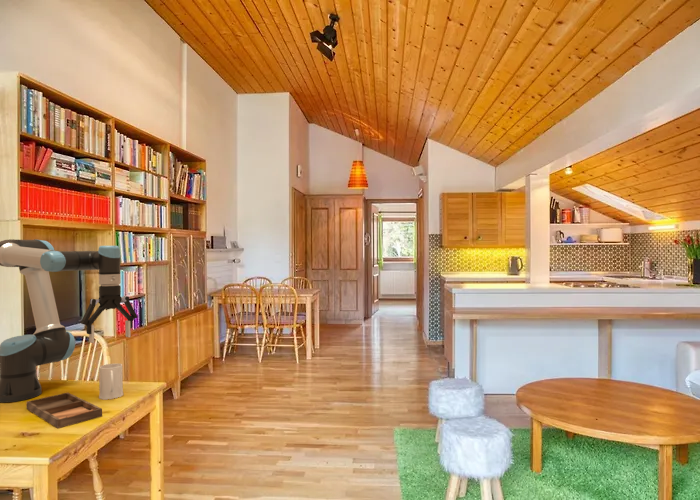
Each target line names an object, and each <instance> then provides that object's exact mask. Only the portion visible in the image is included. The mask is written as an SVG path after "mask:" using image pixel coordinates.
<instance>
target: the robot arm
mask: <svg viewBox="0 0 700 500" xmlns="http://www.w3.org/2000/svg"><path fill="white" fill-rule="evenodd" d="M121 257H122V255H121V248H120V246H119V245H100V246H98V250H71V251H69V250H55V248H54V246H53V245H52V244H51V243H50V242H49V241H47V240H41V239H13V238H12V239H11V238H10V239H4V240H0V267H5V268H18V269H19V273H20V274H21V275H23V276H24V277H25V278H24V279H25V281H26V286H27V291H28V295H29V300H30V305H31V310H32V316H33V319H34V324H35V328H36V329H35V331H34V333H33V334H22V335H17V336H12V337H10V338H7V339H5V340H3V341H1V343H0V403H12V402H21V401H26V400H30V399H33V398H36V397H38V396H40V395H42V385H41V383H40V380H39V378H38V376H37V367H38V366H42V365H48V364H53V363H59V362H61V361H64V360H68V359H69V358H70V357H71V356H72V355H73V353H74V350H75V348H76V338H75V336H74V334H73V333H72V332H71V331H67V328H66V326H64V325H62V324H61V320H60V318H59V317H60V316H59V312H58V308H57V304H56V298H55V294H54V289H53V285H52V281H51V277H50V272H51V273H56V272H66V271H67V272H71V271H72V272H73V271H98V285H99V287H98V298H97V299H96V298H95V299H94V298H90V300H89V305H88V307H87V309H86V310H85V313H84V315H83V316H82V319H81V321H80V324H81V325H85V326H86V328H85V329H86V334H87V335H88V342H89V344H90V343H91V344H95V325H94V323H95V321H96V320H97V319H98V317H99V316H101V314H102V313H103V312H104V311H105V310H111V309H113V310H115V309H117V311H118V312H119V313H120V314H122V316H124V317H125V319H126V320H125V322H124V323H125V324H124V325H125V329H124V331H125V337H126V338H131V335H132V334H131V329H133V321H134V320H135V319H138V315H137V313H136V311H135V309H134V308H133V305H132V304H131V302H130V297H129V296H127V295H123V296H121V294H122V293H121V292H122V291H121V289H122V288H121V285H120V284H121V282H122V281H121V279H122V277H121ZM121 302H123V303H124V305H125V308H126V309H127V310H126V309H125V308H124V307H123V306H122V304H121ZM96 305H98V306H97V307H96ZM95 307H96V308H97V309H96V310H95V311H94V309H95ZM93 312H94V313H93Z"/></svg>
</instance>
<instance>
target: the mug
mask: <svg viewBox="0 0 700 500" xmlns="http://www.w3.org/2000/svg"><path fill="white" fill-rule="evenodd" d="M98 371H99V372H98V373H99V376H98V377H99V382H98V383H99V395H98V399H99V400H103V401H106V400H107V401H108V399H109V400H115V399H118V397H119V398H122V396H124V390H123V386H124V385H123V363H115V362H114V363H108V364H103V365H100V366H99V367H98ZM114 398H115V399H114Z"/></svg>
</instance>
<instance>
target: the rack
mask: <svg viewBox="0 0 700 500" xmlns="http://www.w3.org/2000/svg"><path fill="white" fill-rule="evenodd" d="M26 410H28V411H30V412H31V413H32V414H34V415H35V416H37V417H39V418H40V419H42V420H44V421H45V422H47V423H49V424H50V425H52V426H54V428H56V429H60V428H64V427H68V426H72V425H75V424H79V423H82V422H86V421H87V422H88V421H90V420H93V419H97V418H101V417H103V408H102V407H99V406H97V405H95V404H93V403H91V402H88V401H87V400H85V399H83V398H81V397H78V396H77V395H74V394H71V393H70V392H64V393H61V394H55V395H50V396H46V397H42V398H37V399H33V400H29V401H26Z"/></svg>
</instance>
